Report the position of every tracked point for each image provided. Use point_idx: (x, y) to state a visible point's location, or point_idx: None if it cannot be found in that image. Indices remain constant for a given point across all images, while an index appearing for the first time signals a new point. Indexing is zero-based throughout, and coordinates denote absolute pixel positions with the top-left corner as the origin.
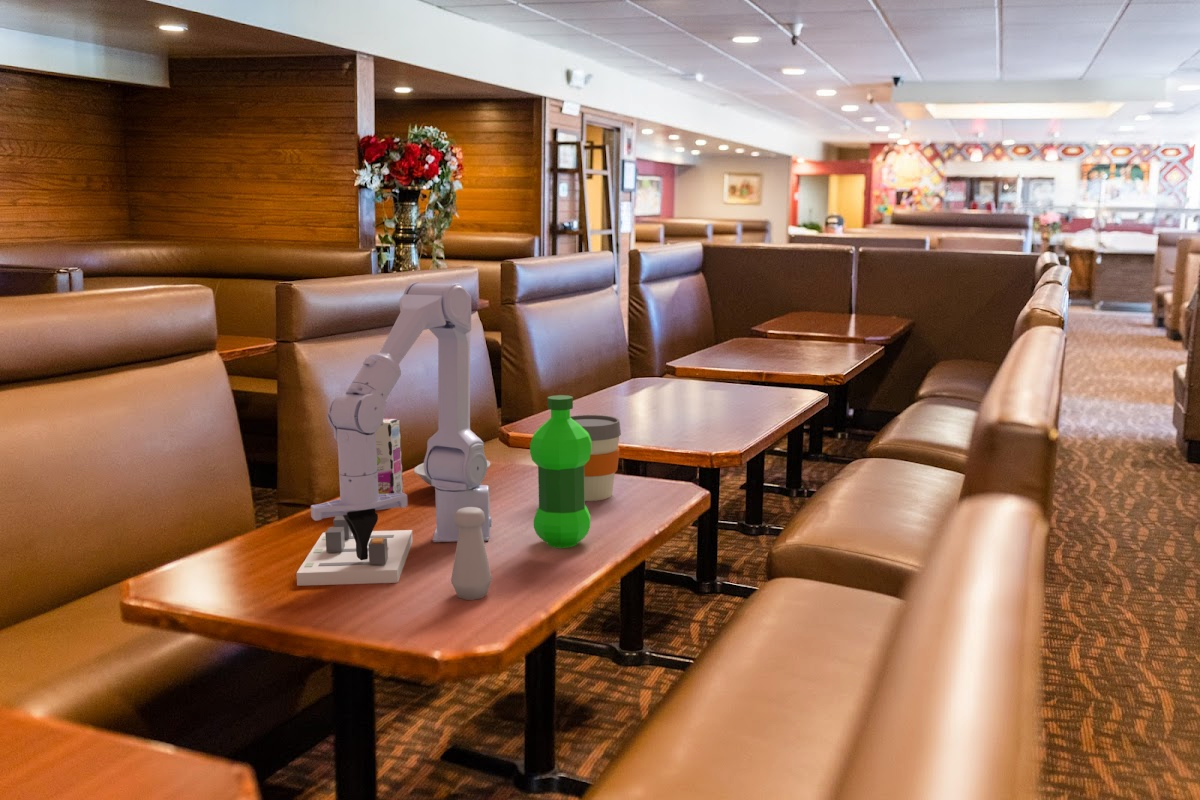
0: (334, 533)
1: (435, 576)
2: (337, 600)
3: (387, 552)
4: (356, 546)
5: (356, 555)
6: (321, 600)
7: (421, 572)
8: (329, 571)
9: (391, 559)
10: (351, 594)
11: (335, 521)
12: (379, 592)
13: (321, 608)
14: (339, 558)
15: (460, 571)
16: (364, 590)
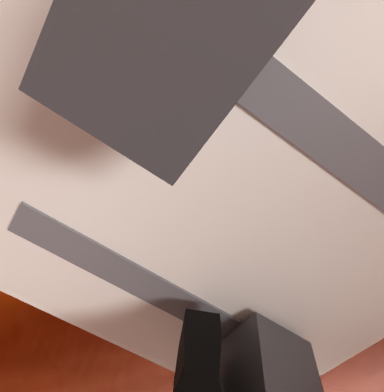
0: (116, 146)
1: (373, 388)
2: (53, 367)
3: (315, 369)
4: (182, 355)
5: (238, 206)
6: (12, 347)
7: (375, 348)
8: (43, 306)
9: (323, 338)
10: (100, 358)
11: None
12: (172, 385)
13: (3, 380)
14: (139, 192)
15: None
16: None
